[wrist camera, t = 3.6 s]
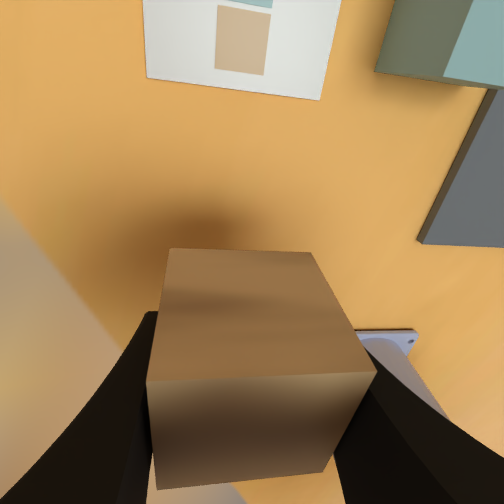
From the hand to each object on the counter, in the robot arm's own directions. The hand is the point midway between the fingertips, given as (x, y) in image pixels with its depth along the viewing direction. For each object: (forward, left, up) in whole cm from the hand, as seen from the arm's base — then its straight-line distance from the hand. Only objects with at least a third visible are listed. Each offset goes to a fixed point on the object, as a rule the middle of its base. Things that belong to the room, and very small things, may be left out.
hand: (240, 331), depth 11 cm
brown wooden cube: (0, 0, -1) cm, 1 cm away
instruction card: (+10, 0, -8) cm, 13 cm away
